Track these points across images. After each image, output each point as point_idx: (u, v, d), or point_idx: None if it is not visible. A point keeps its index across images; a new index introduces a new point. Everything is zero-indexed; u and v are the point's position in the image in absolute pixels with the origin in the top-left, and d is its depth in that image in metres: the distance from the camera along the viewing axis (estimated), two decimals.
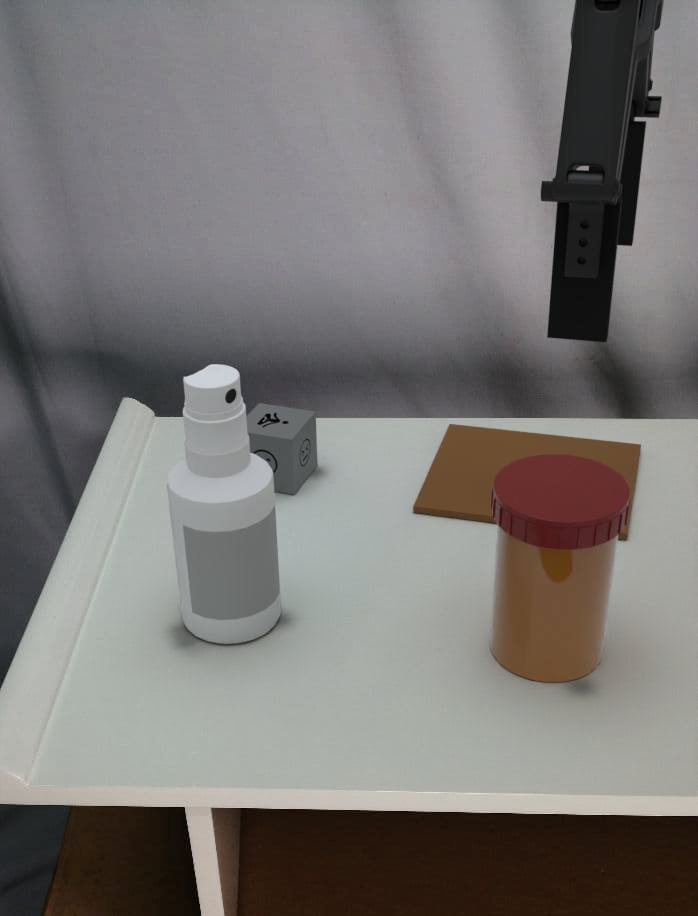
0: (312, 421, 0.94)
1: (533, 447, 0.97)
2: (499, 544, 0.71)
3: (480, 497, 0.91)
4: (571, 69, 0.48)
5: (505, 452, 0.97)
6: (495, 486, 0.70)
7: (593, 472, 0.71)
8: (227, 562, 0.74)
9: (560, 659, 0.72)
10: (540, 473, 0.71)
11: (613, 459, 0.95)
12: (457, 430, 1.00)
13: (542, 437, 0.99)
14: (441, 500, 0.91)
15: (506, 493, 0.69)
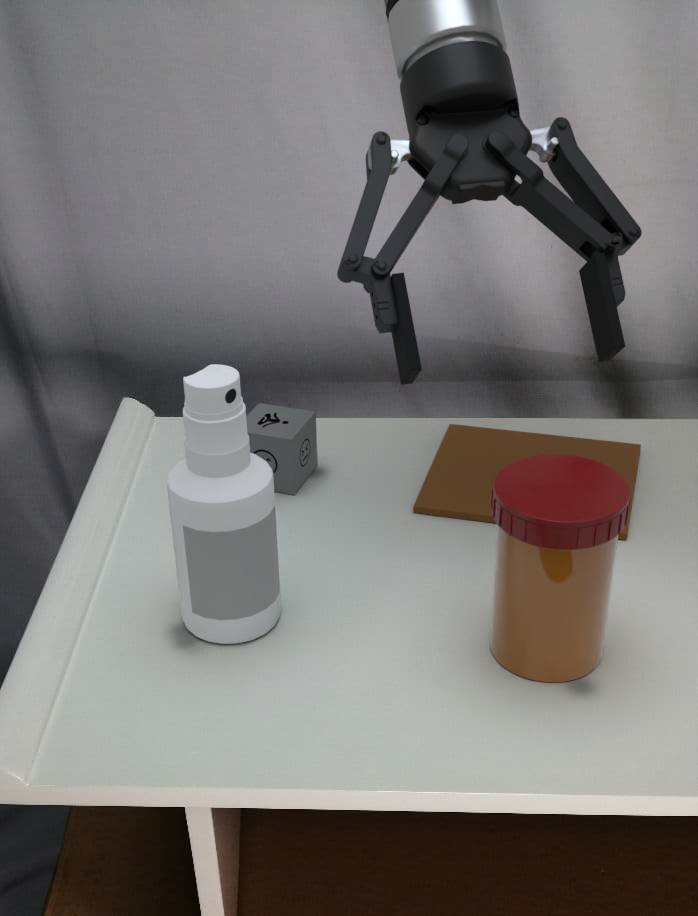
0: (312, 421, 0.94)
1: (533, 447, 0.97)
2: (499, 544, 0.71)
3: (480, 497, 0.91)
4: (357, 211, 0.78)
5: (505, 452, 0.97)
6: (495, 486, 0.70)
7: (593, 472, 0.71)
8: (227, 562, 0.74)
9: (560, 659, 0.72)
10: (540, 473, 0.71)
11: (613, 459, 0.95)
12: (457, 430, 1.00)
13: (542, 437, 0.99)
14: (441, 500, 0.91)
15: (506, 493, 0.69)
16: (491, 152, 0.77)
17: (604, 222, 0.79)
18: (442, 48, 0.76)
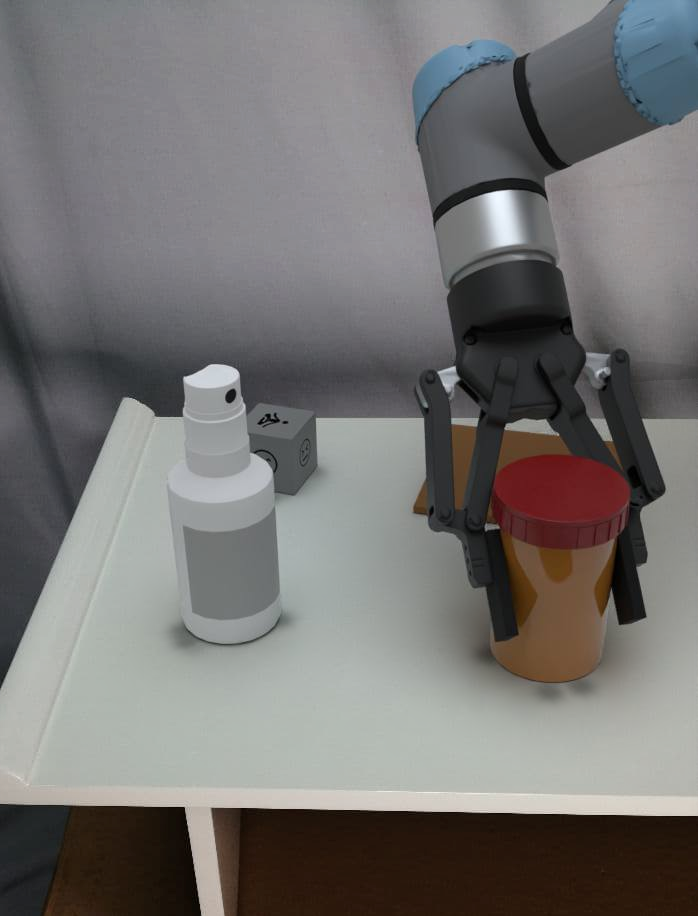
0: (312, 421, 0.94)
1: (533, 447, 0.97)
2: None
3: None
4: (425, 453, 0.74)
5: (505, 452, 0.97)
6: (495, 486, 0.70)
7: (593, 472, 0.71)
8: (227, 562, 0.74)
9: (560, 659, 0.72)
10: (540, 473, 0.71)
11: None
12: (457, 430, 1.00)
13: (542, 437, 0.99)
14: None
15: (506, 493, 0.69)
16: (539, 372, 0.73)
17: (634, 468, 0.74)
18: (491, 268, 0.72)
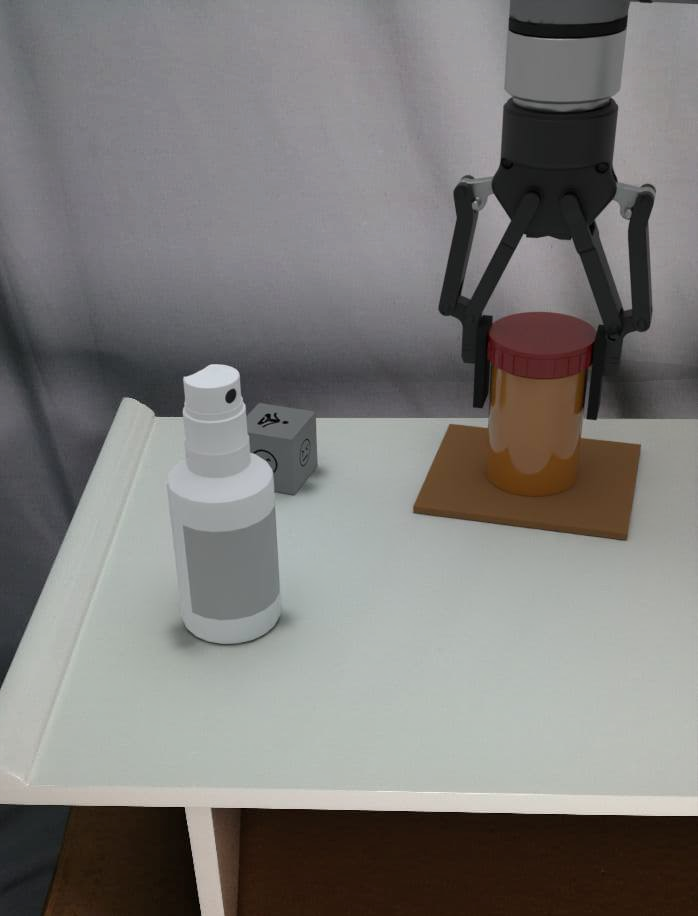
0: (312, 421, 0.94)
1: None
2: (493, 381, 0.89)
3: (480, 497, 0.91)
4: None
5: None
6: (489, 332, 0.87)
7: (568, 323, 0.88)
8: (227, 562, 0.74)
9: (542, 475, 0.90)
10: (525, 324, 0.88)
11: (613, 459, 0.95)
12: (457, 430, 1.00)
13: None
14: (441, 500, 0.91)
15: (498, 336, 0.87)
16: None
17: None
18: (527, 116, 0.76)
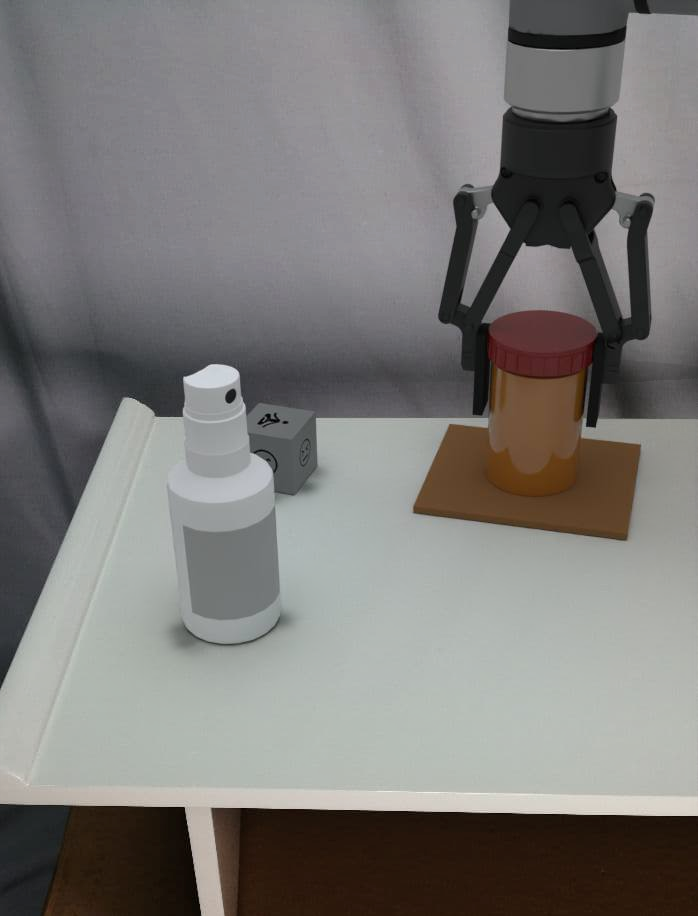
0: (312, 421, 0.94)
1: None
2: (493, 381, 0.89)
3: (480, 497, 0.91)
4: None
5: None
6: (552, 351, 0.84)
7: (515, 320, 0.89)
8: (227, 562, 0.74)
9: (542, 475, 0.90)
10: (523, 336, 0.86)
11: (613, 459, 0.95)
12: (457, 430, 1.00)
13: None
14: (441, 500, 0.91)
15: (562, 348, 0.84)
16: None
17: None
18: (527, 126, 0.76)
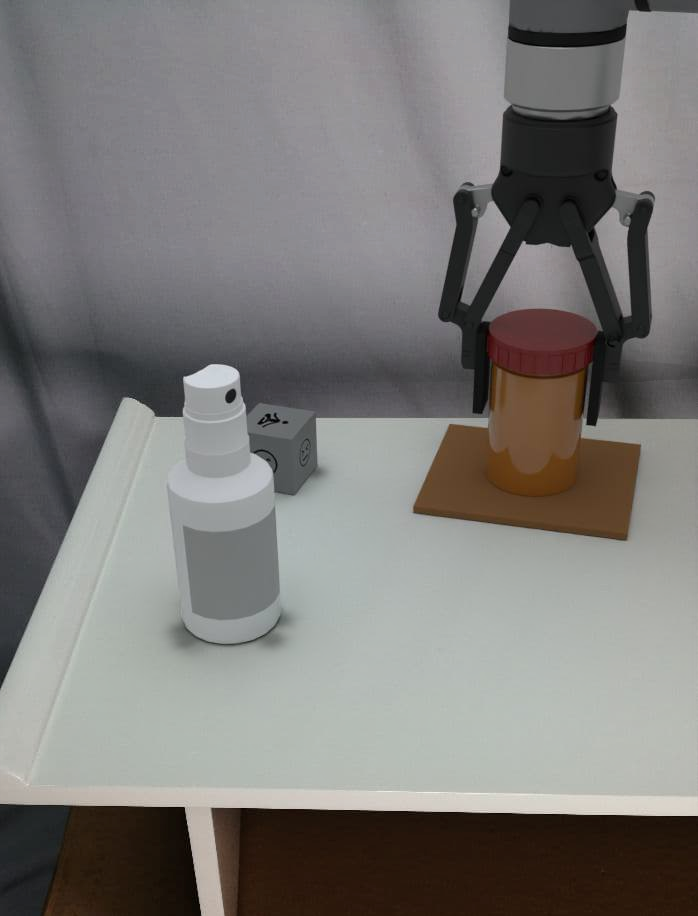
0: (312, 421, 0.94)
1: None
2: (493, 381, 0.89)
3: (480, 497, 0.91)
4: None
5: None
6: (594, 325, 0.87)
7: (519, 339, 0.85)
8: (227, 562, 0.74)
9: (542, 475, 0.90)
10: (562, 336, 0.86)
11: (613, 459, 0.95)
12: (457, 430, 1.00)
13: None
14: (441, 500, 0.91)
15: (583, 321, 0.88)
16: None
17: None
18: (527, 124, 0.76)
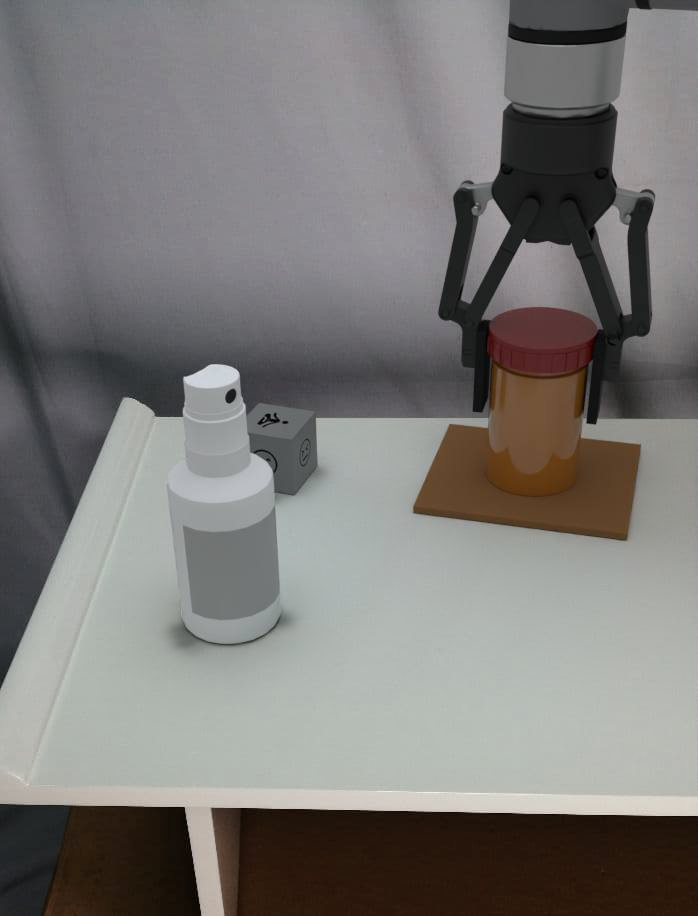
0: (312, 421, 0.94)
1: None
2: (493, 381, 0.89)
3: (480, 497, 0.91)
4: None
5: None
6: None
7: (573, 336, 0.85)
8: (227, 562, 0.74)
9: (542, 475, 0.90)
10: (558, 319, 0.88)
11: (613, 459, 0.95)
12: (457, 430, 1.00)
13: None
14: (441, 500, 0.91)
15: (518, 311, 0.90)
16: None
17: None
18: (527, 122, 0.76)
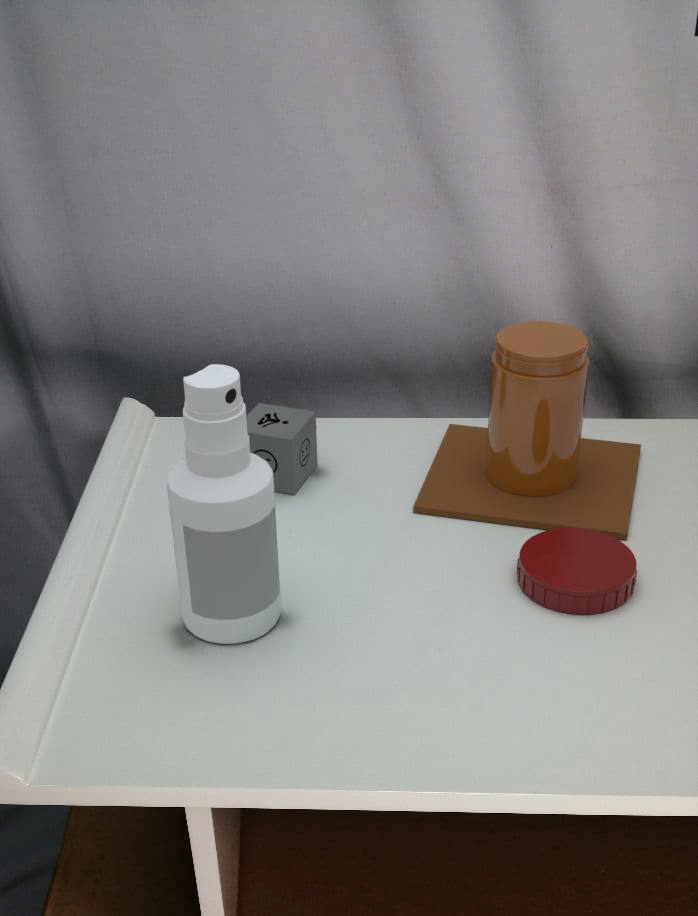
0: (312, 421, 0.94)
1: None
2: (493, 381, 0.89)
3: (480, 497, 0.91)
4: None
5: None
6: (597, 590, 0.78)
7: (544, 544, 0.83)
8: (227, 562, 0.74)
9: (542, 475, 0.90)
10: (560, 569, 0.80)
11: (613, 459, 0.95)
12: (457, 430, 1.00)
13: None
14: (441, 500, 0.91)
15: (605, 583, 0.79)
16: None
17: None
18: None
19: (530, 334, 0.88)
